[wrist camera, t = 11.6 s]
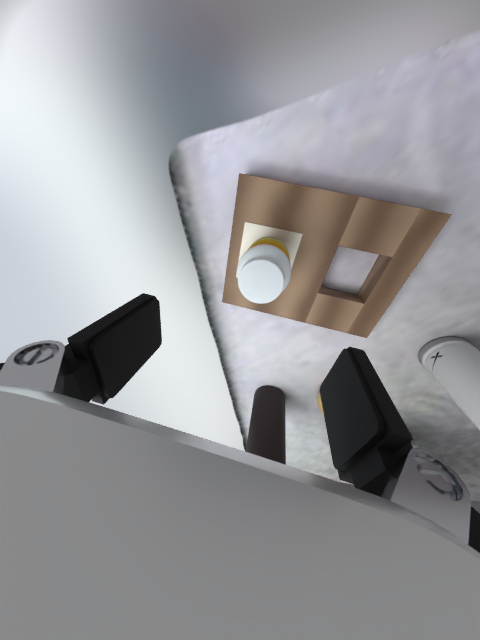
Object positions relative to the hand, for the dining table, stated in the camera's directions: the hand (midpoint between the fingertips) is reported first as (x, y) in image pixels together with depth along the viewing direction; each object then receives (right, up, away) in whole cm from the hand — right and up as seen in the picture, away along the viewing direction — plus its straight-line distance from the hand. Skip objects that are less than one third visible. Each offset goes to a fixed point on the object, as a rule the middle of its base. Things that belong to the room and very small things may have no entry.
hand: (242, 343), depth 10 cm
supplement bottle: (+3, +9, +15) cm, 18 cm away
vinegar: (+7, -16, +33) cm, 37 cm away
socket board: (+10, +9, +17) cm, 22 cm away
